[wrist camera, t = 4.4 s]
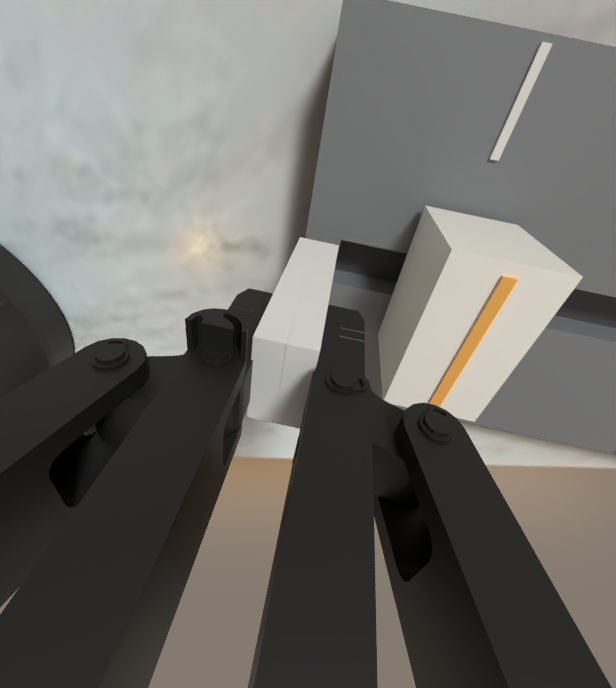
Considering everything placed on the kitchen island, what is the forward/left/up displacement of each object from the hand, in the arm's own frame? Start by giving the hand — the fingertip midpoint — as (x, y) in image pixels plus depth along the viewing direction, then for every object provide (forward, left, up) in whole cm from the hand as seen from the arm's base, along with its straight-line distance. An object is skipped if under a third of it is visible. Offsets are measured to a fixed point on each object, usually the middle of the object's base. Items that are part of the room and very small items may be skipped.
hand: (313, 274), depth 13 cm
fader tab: (+5, 0, -3) cm, 6 cm away
